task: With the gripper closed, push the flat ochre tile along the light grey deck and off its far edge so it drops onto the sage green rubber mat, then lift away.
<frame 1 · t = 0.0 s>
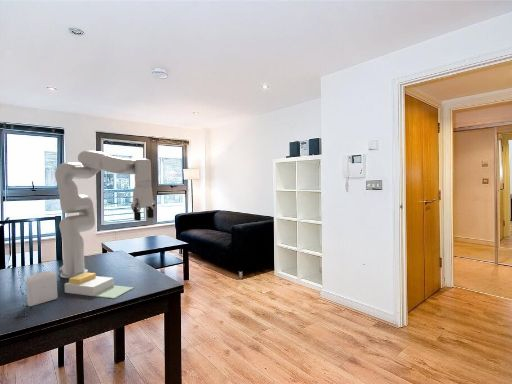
hand: (144, 219, 140), 31 cm above the table, tool pointing down, fingers open, 9 cm apart
deck: (90, 289, 133), on the table
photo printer: (42, 302, 119), on the table
tile: (82, 280, 134), point 4 cm above the table, touching deck
mat: (114, 292, 129), on the table
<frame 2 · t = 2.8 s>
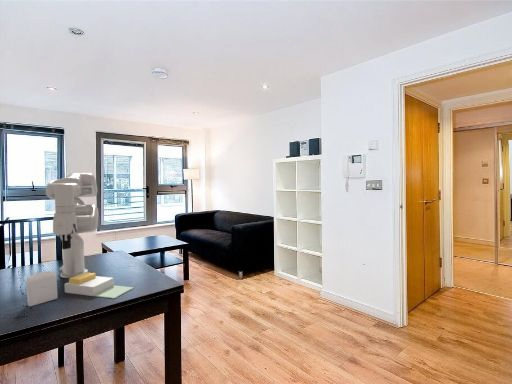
hand: (66, 248, 135), 18 cm above the table, tool pointing down, fingers closed
nothing on the table moved.
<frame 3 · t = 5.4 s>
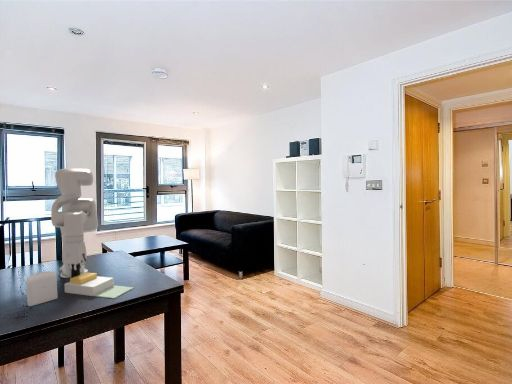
hand: (75, 277, 134), 5 cm above the table, tool pointing down, fingers closed
tile: (84, 280, 133), point 4 cm above the table, touching deck, gripper
everything else where it was.
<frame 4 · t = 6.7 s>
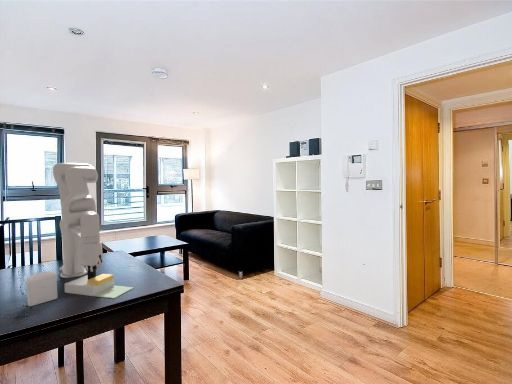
hand: (91, 279, 132), 5 cm above the table, tool pointing down, fingers closed
tile: (100, 281, 131), point 4 cm above the table, touching deck, gripper
everything else where it was.
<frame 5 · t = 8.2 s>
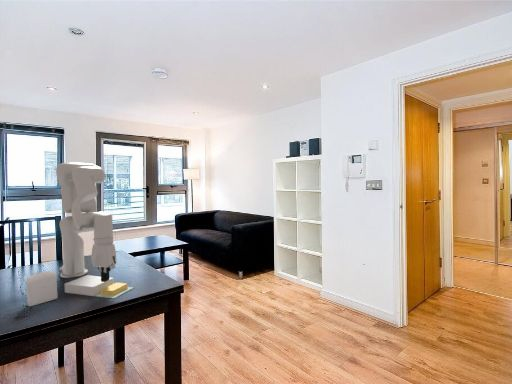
hand: (105, 280, 130), 5 cm above the table, tool pointing down, fingers closed
tile: (114, 286, 129), point 2 cm above the table, tilted 180°, touching mat
everything else where it was.
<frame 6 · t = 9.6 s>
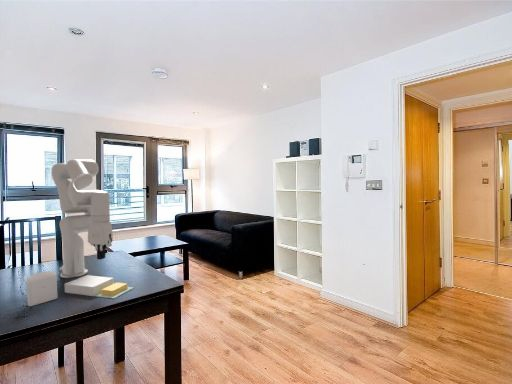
hand: (101, 258, 130), 15 cm above the table, tool pointing down, fingers closed
nothing on the table moved.
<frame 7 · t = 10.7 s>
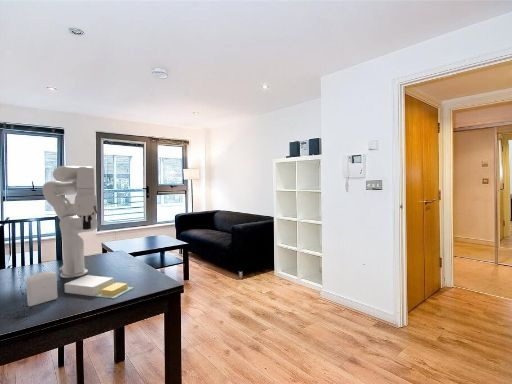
hand: (86, 229, 140), 27 cm above the table, tool pointing down, fingers closed
nothing on the table moved.
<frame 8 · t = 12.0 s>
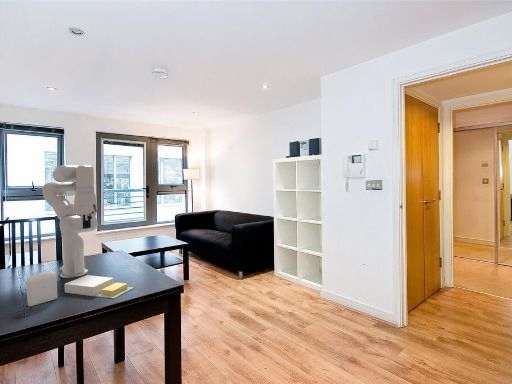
hand: (86, 228, 140), 27 cm above the table, tool pointing down, fingers closed
nothing on the table moved.
at the end: tile inside the target area (0.5 cm from its centre), point 2.4 cm above the table; tile touching mat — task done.
